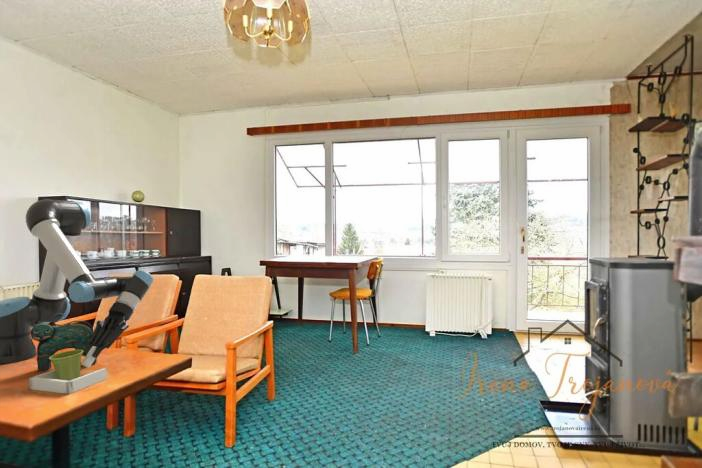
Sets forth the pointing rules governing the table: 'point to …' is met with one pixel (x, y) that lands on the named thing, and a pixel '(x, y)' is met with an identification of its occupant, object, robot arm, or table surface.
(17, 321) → the robot arm
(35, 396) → the table surface
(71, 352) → the plant pot
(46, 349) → the ceramic cat
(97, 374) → the white u-shaped frame
